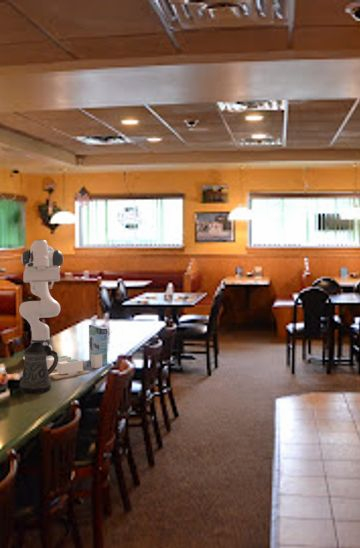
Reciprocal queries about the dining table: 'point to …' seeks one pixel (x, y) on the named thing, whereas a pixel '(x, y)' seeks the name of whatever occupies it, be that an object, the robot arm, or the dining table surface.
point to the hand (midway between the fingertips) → (42, 288)
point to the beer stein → (37, 369)
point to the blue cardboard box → (98, 342)
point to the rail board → (66, 367)
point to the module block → (96, 360)
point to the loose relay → (84, 364)
